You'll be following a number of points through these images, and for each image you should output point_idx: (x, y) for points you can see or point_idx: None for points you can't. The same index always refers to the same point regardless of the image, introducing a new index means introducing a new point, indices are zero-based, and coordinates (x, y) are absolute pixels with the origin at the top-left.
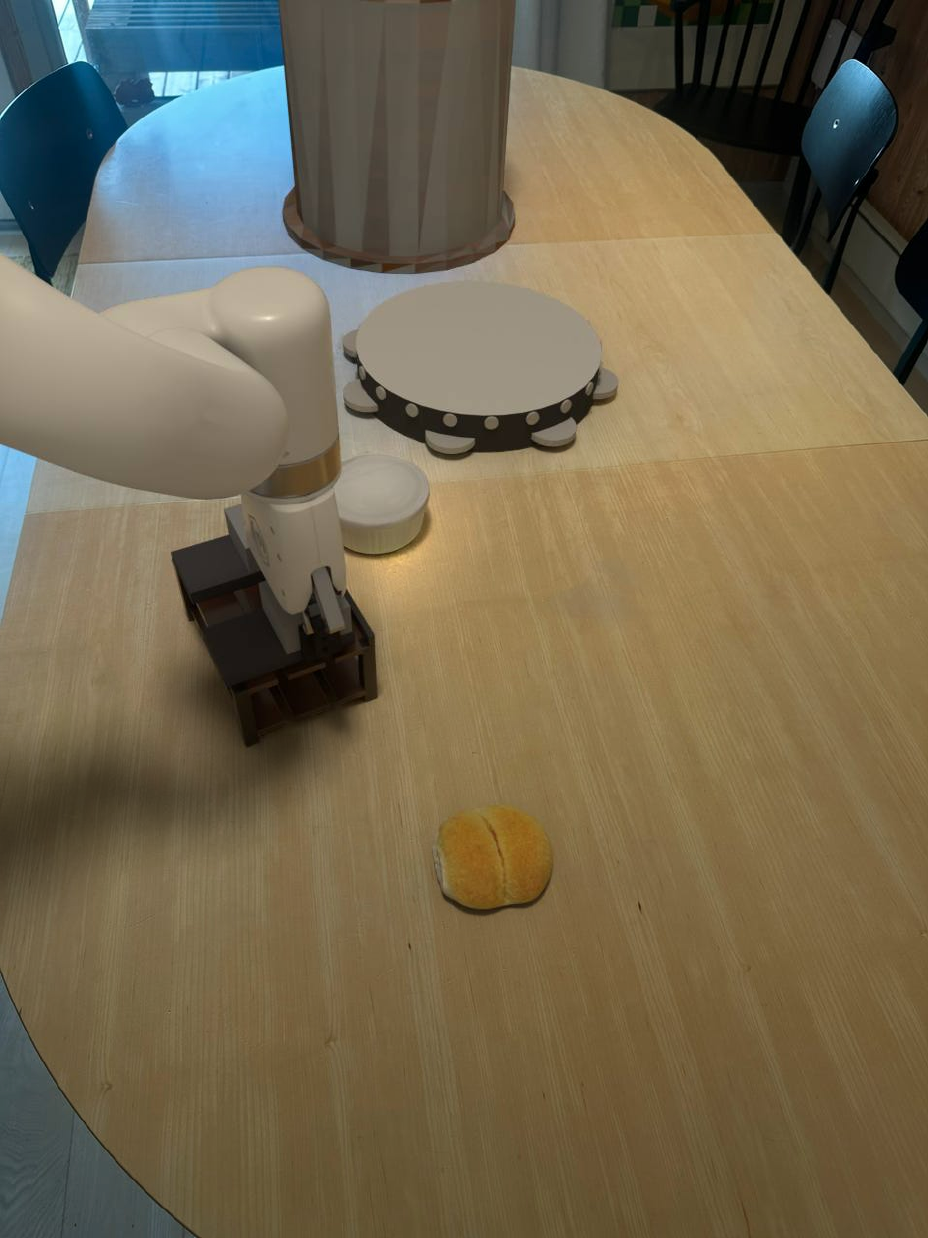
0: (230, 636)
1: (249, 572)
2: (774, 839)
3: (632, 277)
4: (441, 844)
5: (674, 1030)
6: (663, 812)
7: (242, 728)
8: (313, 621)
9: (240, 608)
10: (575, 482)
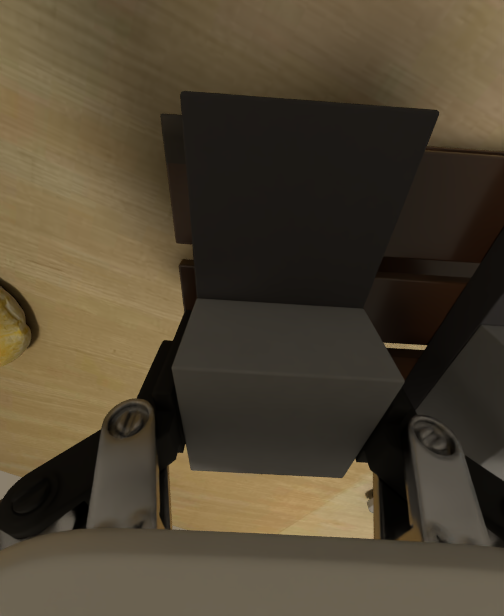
0: (335, 197)
1: (486, 327)
2: (8, 440)
3: None
4: None
5: None
6: (33, 413)
7: None
8: (86, 477)
9: (422, 256)
10: (335, 486)
